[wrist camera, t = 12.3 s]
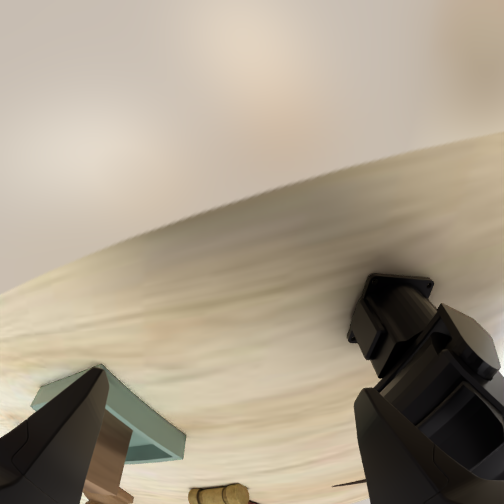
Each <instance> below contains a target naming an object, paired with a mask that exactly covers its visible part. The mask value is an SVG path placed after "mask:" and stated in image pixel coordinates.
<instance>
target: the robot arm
mask: <svg viewBox="0 0 504 504" xmlns="http://www.w3.org/2000/svg"><path fill="white" fill-rule="evenodd" d="M374 279H376V280H375V281H374V282H372V281H373V280H374ZM428 284H429V285H428ZM433 286H434V282H433V281H432V280H431V279H430V278H422V277H410V276H399V275H387V274H376V273H374V274H371V275H370V276H369V277H368V279H367V282H366V285H365V288H364V291H363V294H362V297H361V299H360V300H359V301H358V304H357V307H356V310H355V313H354V315H353V318H352V321H351V324H350V330H349V332H348V335H347V339H348V341H349V342H350V343H358V344H359V346H360V349H361V351H362V353H363V355H364V357H365V359H366V360H370V361H371V363H372V365H373V367H374V369H375V372H376V374H377V376H378V378H382V379H381V380H380V382H379V383H378V384H377V385H376V386H375V387H374V388H363V389H362V390H361V392H360V393H359V395H358V397H357V399H356V400H355V403H354V412H355V421H356V430H357V439H358V445H359V449H360V454H361V458H362V463H363V468H364V472H365V477H366V482H367V487H368V492H369V497H370V503H371V504H504V377H503V376H502V375H501V373H500V372H499V371H498V370H499V369H500V368H501V367H500V362H499V359H498V355H497V352H496V349H495V346H494V342H493V339H492V337H491V336H490V335H489V334H488V333H487V332H486V331H485V330H484V329H483V328H482V327H481V326H480V325H479V324H478V323H477V322H476V321H475V320H474V319H473V318H471V317H469V316H467V315H465V314H463V313H461V312H459V311H457V310H455V309H453V308H451V307H449V306H447V305H445V304H443V303H441V304H440V306H439V307H438V309H436V307H435V306H434V305H433V304H432V303H431V302H430V300H429V299H428V298H429V296H430V293H431V291H432V288H433ZM354 336H355V337H354ZM352 337H353V338H352ZM108 393H109V382H108V378H107V375H106V372H105V370H104V369H102V368H98V367H92V368H91V369H90V370H88V371H87V372H86V373H84V374H83V375H82V376H81V377H79V378H78V379H77V380H76V381H74V382H73V383H72V384H70V385H69V386H68V387H67V388H65V389H64V390H63V391H62V392H60V393H59V394H58V395H56V396H55V397H54V398H53V399H51V400H50V401H49V402H48V403H46V404H45V405H44V406H43V407H41V408H40V409H39V410H37V411H36V412H35V413H34V414H32V415H31V416H30V417H29V418H28V419H27V420H25V421H23V422H22V423H21V424H20V425H18V426H17V427H16V428H14V429H13V430H12V431H10V432H9V433H7V434H6V435H4V436H3V437H1V438H0V504H80V500H81V496H82V492H83V488H84V484H85V480H86V476H87V473H88V469H89V466H90V462H91V459H92V455H93V452H94V449H95V445H96V442H97V439H98V436H99V432H100V429H101V426H102V421H103V417H104V411H105V407H106V402H107V397H108Z"/></svg>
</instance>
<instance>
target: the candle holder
mask: <svg viewBox="0 0 504 504" xmlns="http://www.w3.org/2000/svg"><path fill="white" fill-rule="evenodd" d="M83 493H84V495H85V496H86V497H87V498H88V499H89V501H88V502H86V503H85V504H130V503H133V499H134V497H133V496H131V495H130V494H128V493H127V492H125V491H124V490H122V489H121V488H120V487H119V489H118V494H117V496H113V495H104V494H95V493H90V492H88V491H86V490H85V489H83Z"/></svg>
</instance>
